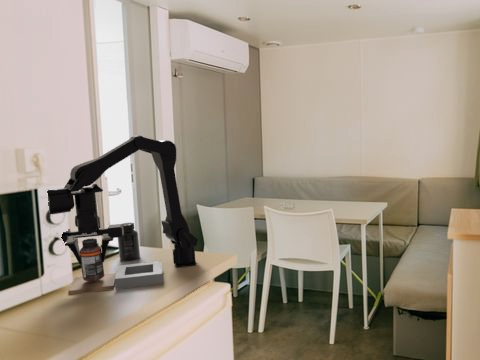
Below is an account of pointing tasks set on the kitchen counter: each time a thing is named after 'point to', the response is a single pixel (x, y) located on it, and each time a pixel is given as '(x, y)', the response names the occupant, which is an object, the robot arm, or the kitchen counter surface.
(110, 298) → the kitchen counter surface
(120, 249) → the supplement bottle
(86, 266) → the supplement bottle
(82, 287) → the walnut board
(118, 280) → the block
